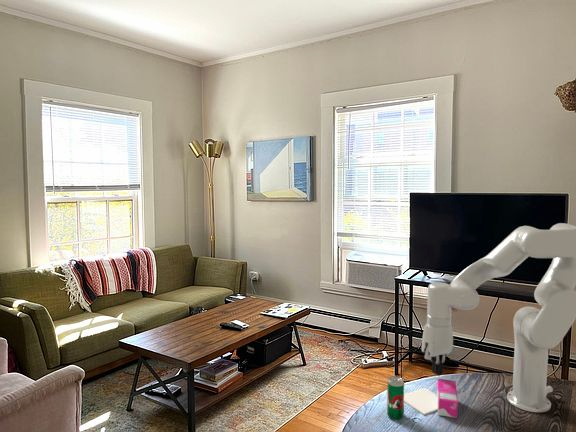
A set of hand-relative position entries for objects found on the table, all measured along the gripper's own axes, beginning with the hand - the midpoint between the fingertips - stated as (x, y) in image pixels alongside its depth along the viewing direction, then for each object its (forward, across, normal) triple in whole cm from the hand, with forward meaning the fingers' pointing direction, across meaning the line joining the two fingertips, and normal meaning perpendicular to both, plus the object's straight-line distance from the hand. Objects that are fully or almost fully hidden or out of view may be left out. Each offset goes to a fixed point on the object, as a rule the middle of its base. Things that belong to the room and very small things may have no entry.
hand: (437, 373), depth 148 cm
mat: (+8, +6, 0) cm, 10 cm away
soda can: (+9, +20, +2) cm, 22 cm away
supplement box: (+4, -2, +2) cm, 5 cm away
